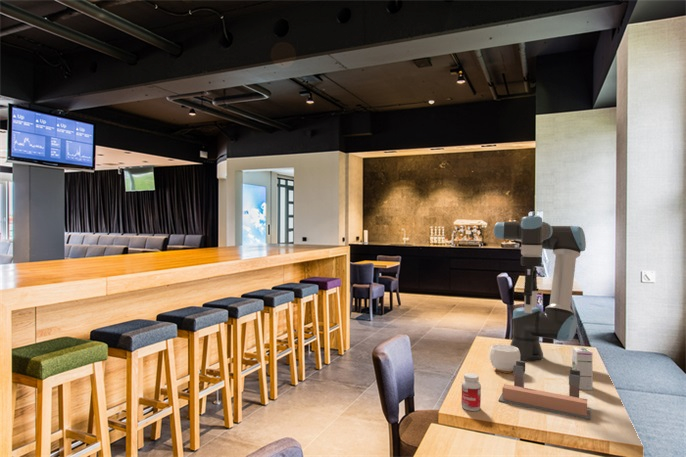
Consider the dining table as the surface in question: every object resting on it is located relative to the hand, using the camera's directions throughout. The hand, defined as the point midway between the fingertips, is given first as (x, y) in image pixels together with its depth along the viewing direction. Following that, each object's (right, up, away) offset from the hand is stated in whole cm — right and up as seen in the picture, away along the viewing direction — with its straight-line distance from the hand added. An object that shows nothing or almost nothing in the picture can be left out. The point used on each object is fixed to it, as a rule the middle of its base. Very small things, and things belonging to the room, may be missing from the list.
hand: (530, 309), depth 170 cm
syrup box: (+18, -29, -4) cm, 35 cm away
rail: (-5, -28, -22) cm, 36 cm away
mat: (-5, -29, -22) cm, 37 cm away
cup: (-5, -29, +14) cm, 32 cm away
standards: (-1, -29, -15) cm, 32 cm away
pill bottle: (-30, -29, -24) cm, 48 cm away
